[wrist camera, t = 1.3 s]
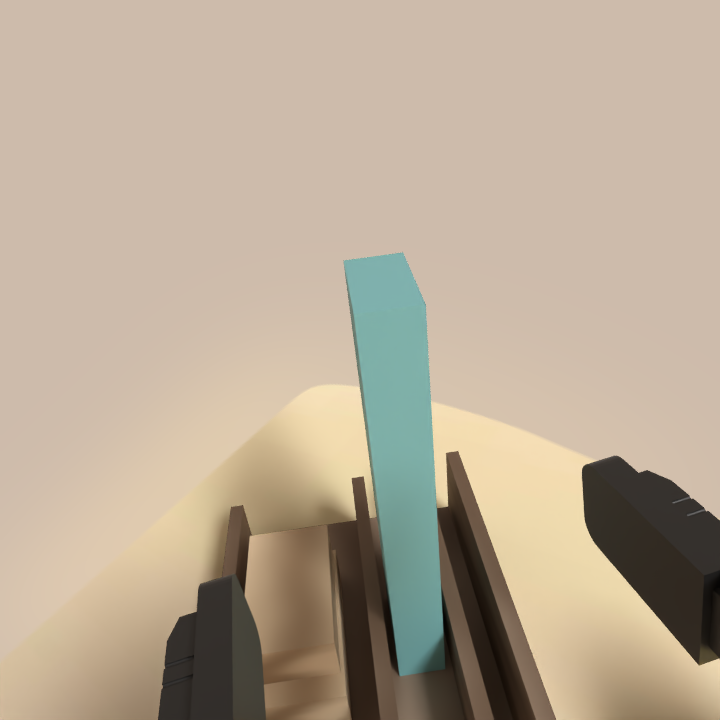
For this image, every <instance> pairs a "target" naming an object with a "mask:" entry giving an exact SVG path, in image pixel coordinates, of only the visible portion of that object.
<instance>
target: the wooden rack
mask: <svg viewBox="0 0 720 720" xmlns="http://www.w3.org/2000/svg"><path fill="white" fill-rule="evenodd" d="M446 461H447V486H448V507H444V508H437V524H438V542H439V560H440V579H441V597H442V616H443V634H444V653H445V669H443V670H437V671H430V672H424V673H417V674H411V675H405V676H400V675H399V669H398V662H397V656H396V649H395V643H394V636H393V630H392V624H391V617H390V611H389V604H388V598H387V590H386V583H385V575H384V567H383V560H382V552H381V544H380V537H379V529H378V521H377V517H376V518H369V511H368V504H367V497H366V490H365V483H364V476H363V477H357V478H352V484H353V493H354V501H355V510H356V518H357V520H356V521H349V522H343V523H336V524H329V525H327V527H328V532H329V537H330V542H331V547H332V550H336V554H337V560H338V565H339V570H340V575H341V587H342V600H343V612H344V625H345V638H346V650H347V663H348V676H349V688H350V701H351V714H352V720H556V718H555V715H554V713H553V710H552V707H551V704H550V702H549V699H548V696H547V693H546V691H545V688H544V685H543V682H542V680H541V677H540V674H539V671H538V669H537V666H536V663H535V661H534V658H533V655H532V652H531V650H530V647H529V644H528V641H527V639H526V636H525V633H524V630H523V628H522V625H521V622H520V619H519V617H518V614H517V611H516V609H515V606H514V603H513V600H512V598H511V595H510V592H509V589H508V587H507V584H506V581H505V578H504V576H503V573H502V570H501V567H500V565H499V562H498V559H497V556H496V554H495V551H494V548H493V546H492V543H491V540H490V537H489V535H488V532H487V529H486V526H485V524H484V521H483V518H482V515H481V513H480V510H479V507H478V504H477V502H476V499H475V496H474V494H473V491H472V488H471V485H470V483H469V480H468V477H467V474H466V472H465V469H464V466H463V463H462V461H461V458H460V455H459V452H458V451H456V452H449V453H446ZM250 536H252V535H251V531H250V528H249V524H248V521H247V518H246V514H245V511H244V507H243V505H242V506H235V507H231V512H230V520H229V527H228V535H227V543H226V551H225V558H224V566H223V574H222V577H224V576H227V575H231V574H235V575H236V576H237V578H238V580H239V583H240V585H241V588H242V590H243V593H244V595H245V586H246V574H247V563H248V551H249V540H250Z"/></svg>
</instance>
